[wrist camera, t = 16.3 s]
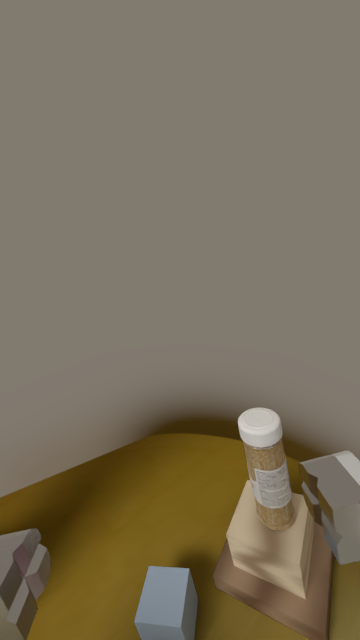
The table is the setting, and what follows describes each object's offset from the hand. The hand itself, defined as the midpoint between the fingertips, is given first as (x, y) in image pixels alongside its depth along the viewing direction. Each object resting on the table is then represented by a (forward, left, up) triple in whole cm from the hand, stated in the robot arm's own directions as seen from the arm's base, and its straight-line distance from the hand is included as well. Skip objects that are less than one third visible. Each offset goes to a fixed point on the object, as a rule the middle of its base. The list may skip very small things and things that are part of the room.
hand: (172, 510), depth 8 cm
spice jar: (-5, +20, -25) cm, 32 cm away
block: (-14, +8, -32) cm, 36 cm away
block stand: (-5, +19, -32) cm, 38 cm away
